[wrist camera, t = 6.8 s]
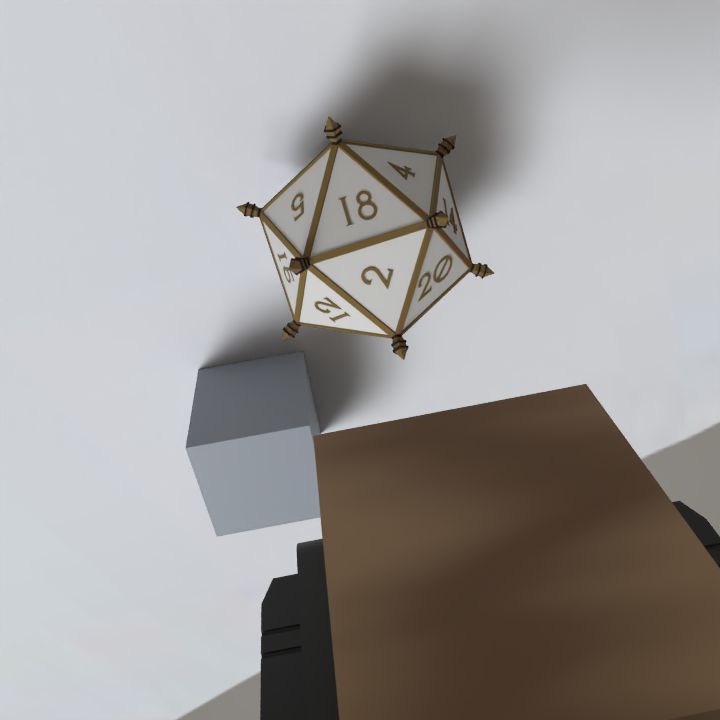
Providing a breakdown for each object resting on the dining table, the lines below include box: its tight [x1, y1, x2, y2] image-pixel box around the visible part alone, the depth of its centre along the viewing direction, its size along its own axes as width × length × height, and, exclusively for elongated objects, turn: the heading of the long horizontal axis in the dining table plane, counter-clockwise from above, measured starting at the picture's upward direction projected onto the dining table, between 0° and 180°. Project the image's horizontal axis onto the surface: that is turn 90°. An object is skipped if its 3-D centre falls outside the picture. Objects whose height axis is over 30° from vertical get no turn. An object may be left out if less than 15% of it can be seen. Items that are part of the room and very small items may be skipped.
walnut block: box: [313, 384, 720, 720], centre depth 11 cm, size 5×5×6 cm
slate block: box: [186, 351, 321, 536], centre depth 31 cm, size 5×5×6 cm
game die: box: [237, 117, 494, 360], centre depth 26 cm, size 9×8×10 cm
